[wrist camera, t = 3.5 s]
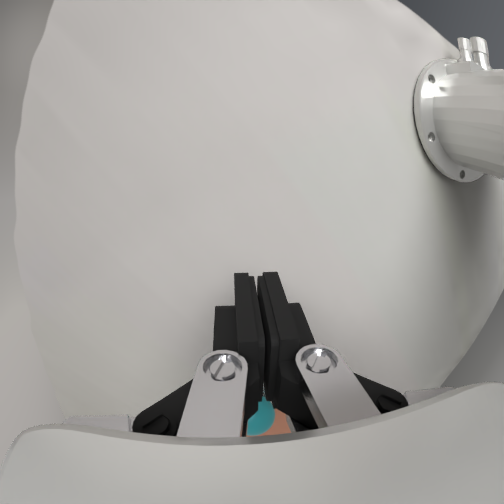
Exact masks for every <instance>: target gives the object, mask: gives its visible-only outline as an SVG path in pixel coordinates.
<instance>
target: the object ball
mask: <svg viewBox="0 0 504 504" xmlns="http://www.w3.org/2000/svg"><path fill="white" fill-rule="evenodd" d="M274 420H275V410H274V409H273V405H272V403H271V402H270V401H266V398H265V397H263V396H262V402H259V403H258V411H257V412H256V413H255V414H254V415H253V416H252V417H251V418H250V419H248V429H247V435H248V436H256V435H260V434H263V433H265V432H266V431H267V430H269V429H270V428H271V426H272V425H273V423H274Z"/></svg>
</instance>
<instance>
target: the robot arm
mask: <svg viewBox="0 0 504 504" xmlns="http://www.w3.org/2000/svg"><path fill="white" fill-rule="evenodd" d="M458 45H459V51H460V55H461V58H459V59H458V60H455V59H451V58H444V59H438V60H435V61H433V62H431V63H429V64H428V65H427V66H426V67H425V68H424V69H423V71H422V72H421V74H420V75H419V78H418V81H417V84H416V87H415V94H414V114H415V121H416V126H417V130H418V134H419V138H420V140H421V143H422V145H423V148H424V150H425V152H426V154H427V155H428V157H429V159H430V160H431V162H432V163H433V164H434V166H435V167H436V168H437V169H438V170H439V171H440V172H441V173H442V174H443V175H445V176H447V177H448V178H450V179H453V180H456V181H458V182H465V183H467V182H473V181H475V180H477V179H479V178H480V177H481V176H483V175H484V174H487V175H490V176H493V177H496V178H499V179H502V180H504V69H492V68H491V67H490V65H489V54H488V49H487V43H486V41H485V40H484V39H482V38H480V37H471V38H470V40H468V39H466V38H458ZM472 54H473V56H474V61H473V60H472ZM234 285H235V306H215V320H214V340H213V352H210V353H208V354H206V355H205V356H203V357H202V358H201V359H200V361H199V363H198V365H197V369H196V372H195V375H194V378H193V379H192V380H191V381H189V382H188V383H186V384H185V385H183V386H182V387H180V388H179V389H177V390H176V391H174V392H173V393H171V394H169V395H168V396H166V397H165V398H163V399H162V400H160V401H158V402H157V403H155V404H154V405H152V406H150V407H149V408H147V409H145V410H144V411H142V412H141V413H140V414H139V415H137V417H129V416H128V415H108V416H72V417H69V418H67V419H66V420H64V422H63V423H62V424H49V425H39V426H34V427H31V428H28V429H26V430H24V431H22V432H21V433H20V434H19V435H18V436H17V437H16V438H15V440H14V441H13V443H12V444H11V446H10V448H9V450H8V452H7V454H6V456H5V458H4V460H3V463H2V465H1V468H0V504H504V383H501V382H481V383H475V384H470V385H466V386H463V387H459V388H454V387H442V388H434V389H425V390H416V391H406V392H405V393H404V395H402V394H401V393H399V392H398V391H396V390H394V389H391V388H389V387H386V386H384V385H381V384H379V383H376V382H374V381H371V380H369V379H367V378H364V377H362V376H360V375H357V374H355V373H353V372H352V371H351V369H350V368H349V366H348V365H347V363H346V362H345V360H344V359H343V357H342V356H341V355H340V353H339V352H338V351H337V350H335V349H334V348H332V347H330V346H327V345H323V344H316V343H315V341H314V338H313V335H312V333H311V330H310V328H309V325H308V323H307V320H306V318H305V315H304V313H303V310H302V308H301V305H300V304H299V303H288V302H287V299H286V296H285V293H284V290H283V287H282V284H281V281H280V278H279V275H278V273H277V272H263V276H258V280H257V292H256V286H255V280H254V276H249V275H248V273H234ZM263 382H264V389H265V396H266V401H272V405H273V409H278V410H279V411H281V412H283V413H285V414H286V421H287V424H288V426H289V428H290V431H291V433H285V434H276V435H265V436H251V437H247V429H248V419H250V418H251V417H252V416H253V415H254V414H255V413H256V412H257V411H258V403H259V402H262V394H263Z"/></svg>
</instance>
